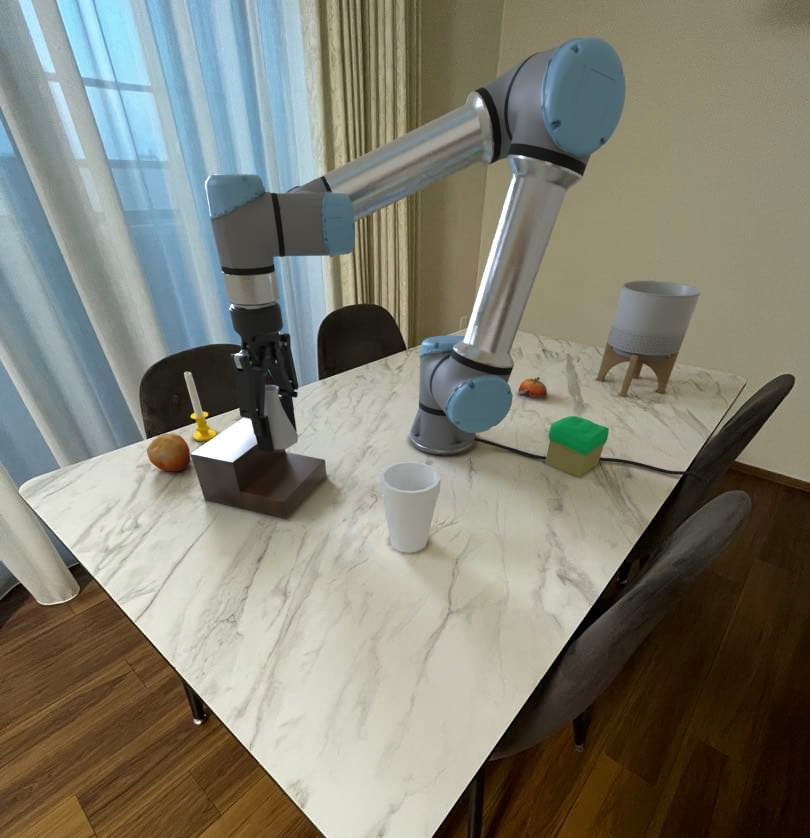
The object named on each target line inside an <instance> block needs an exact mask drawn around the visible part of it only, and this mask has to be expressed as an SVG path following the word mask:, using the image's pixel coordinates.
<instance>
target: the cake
mask: <svg viewBox="0 0 810 838" xmlns="http://www.w3.org/2000/svg"><path fill="white" fill-rule="evenodd" d="M609 431H610V428H609V427H607V426H604V425H600V424H598V423H595V422H593V421H591V420H590V419H587V418H584V417H580V416H578V415H570V416H569V415H568V416H566V417H564V418H561V419H558V420H557V421H555V422H553V423H552V424H551V425H550V427H549V433H548V441H549V442H548V446H547V452H546V455H545V457H546V460H544V464H546V465H548V466H551V467H554V468H556V469H559V470H561V471H563V472H566V473H567V474H570V475H572V476H575V477H577V478H580V477H581V476H583V475H584V474H585V473H587V472H589V471H590V470H591V469H593V468H594V467H595V466H597V465H598V464H599V463H600V461H599V459H600V457H601V456H602V452H603V449H604V446H605V444H606V443H607V441H608V438H609Z"/></svg>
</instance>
